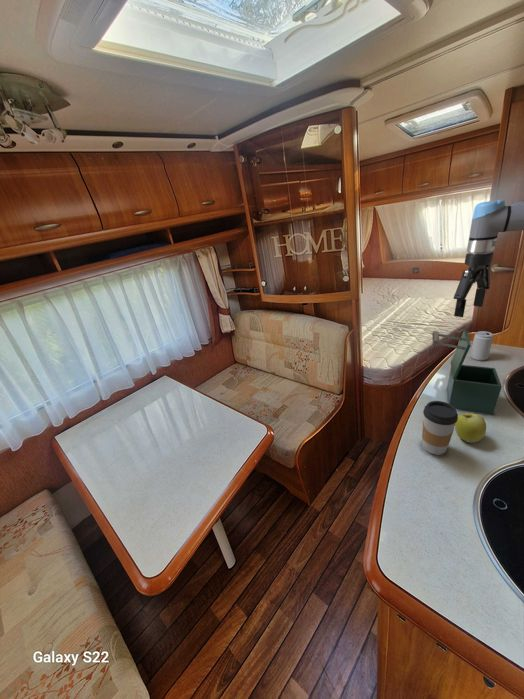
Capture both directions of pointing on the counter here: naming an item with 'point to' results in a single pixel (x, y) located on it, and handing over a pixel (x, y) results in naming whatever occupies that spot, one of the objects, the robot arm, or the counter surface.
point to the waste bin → (474, 389)
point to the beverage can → (481, 345)
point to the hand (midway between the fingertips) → (468, 311)
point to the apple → (470, 427)
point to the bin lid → (460, 350)
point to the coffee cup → (438, 426)
